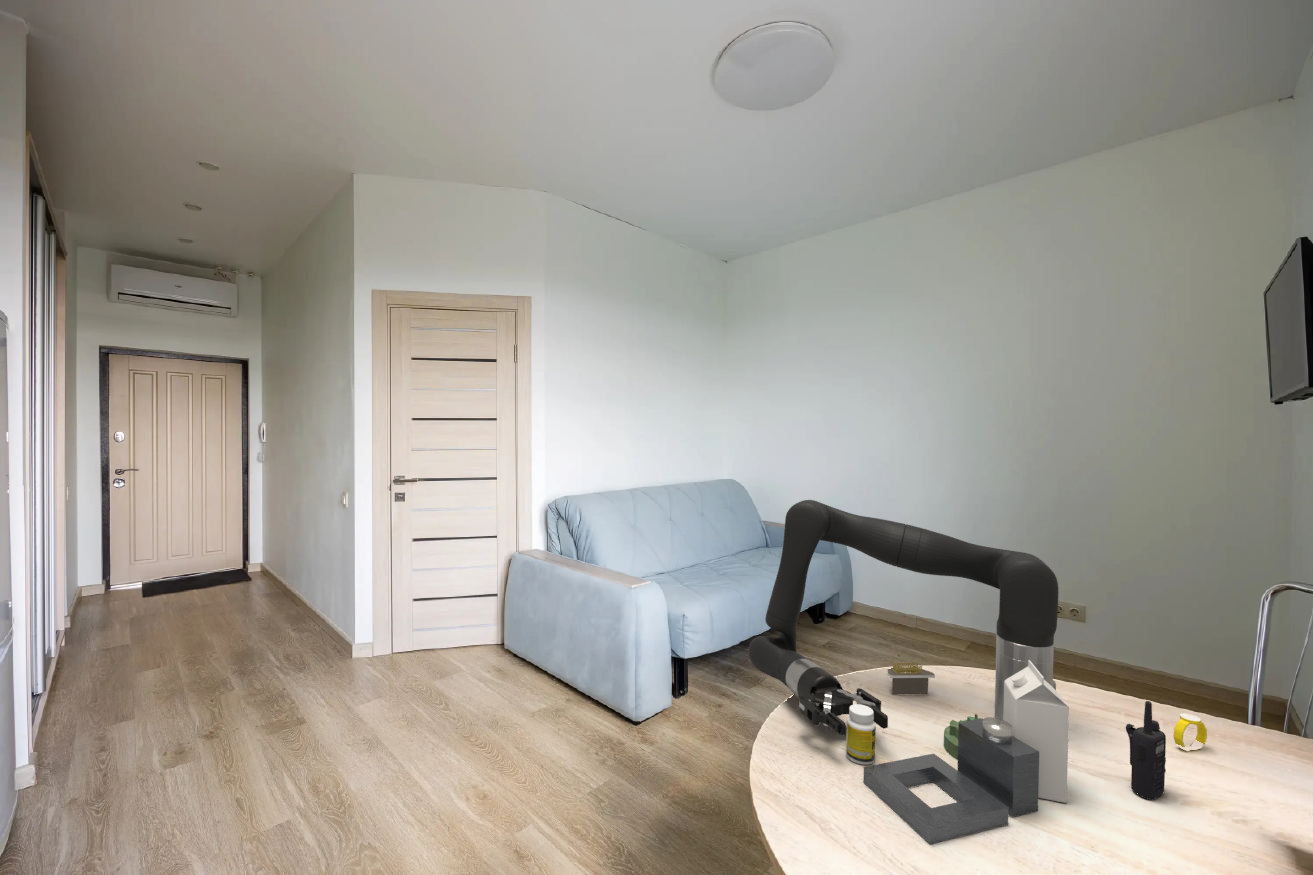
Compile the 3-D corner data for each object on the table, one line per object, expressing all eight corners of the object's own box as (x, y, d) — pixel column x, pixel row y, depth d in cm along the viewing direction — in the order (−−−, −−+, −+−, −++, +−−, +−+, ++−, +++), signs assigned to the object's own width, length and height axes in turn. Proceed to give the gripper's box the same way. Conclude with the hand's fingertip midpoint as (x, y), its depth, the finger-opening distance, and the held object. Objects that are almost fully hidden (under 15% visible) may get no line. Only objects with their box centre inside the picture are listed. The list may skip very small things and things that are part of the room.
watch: (1186, 756, 99) (1185, 723, 99) (1169, 747, 102) (1168, 715, 101) (1212, 750, 100) (1211, 718, 100) (1194, 742, 103) (1193, 710, 103)
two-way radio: (1152, 804, 85) (1154, 707, 85) (1117, 787, 89) (1119, 694, 89) (1168, 793, 88) (1171, 699, 88) (1134, 778, 92) (1136, 687, 92)
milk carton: (1051, 777, 92) (1054, 663, 91) (1067, 804, 85) (1070, 681, 85) (1001, 768, 94) (1004, 656, 94) (1013, 793, 87) (1016, 673, 87)
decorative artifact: (950, 764, 95) (1016, 775, 92) (950, 723, 95) (1017, 733, 92) (938, 734, 105) (999, 743, 102) (939, 697, 105) (999, 705, 102)
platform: (856, 682, 127) (857, 653, 127) (932, 681, 128) (933, 653, 128) (880, 708, 115) (881, 676, 115) (964, 707, 116) (965, 676, 116)
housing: (966, 761, 96) (967, 698, 96) (1044, 815, 82) (1046, 741, 82) (863, 782, 90) (864, 714, 89) (929, 844, 76) (931, 764, 76)
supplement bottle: (877, 767, 94) (878, 717, 94) (848, 763, 95) (849, 714, 95) (872, 751, 98) (873, 704, 98) (844, 748, 99) (845, 701, 99)
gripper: (781, 670, 109) (830, 710, 93) (843, 662, 113) (900, 699, 97) (780, 708, 109) (829, 754, 93) (842, 699, 113) (899, 742, 97)
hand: (865, 726), depth 95 cm, fingers open, 8 cm apart
